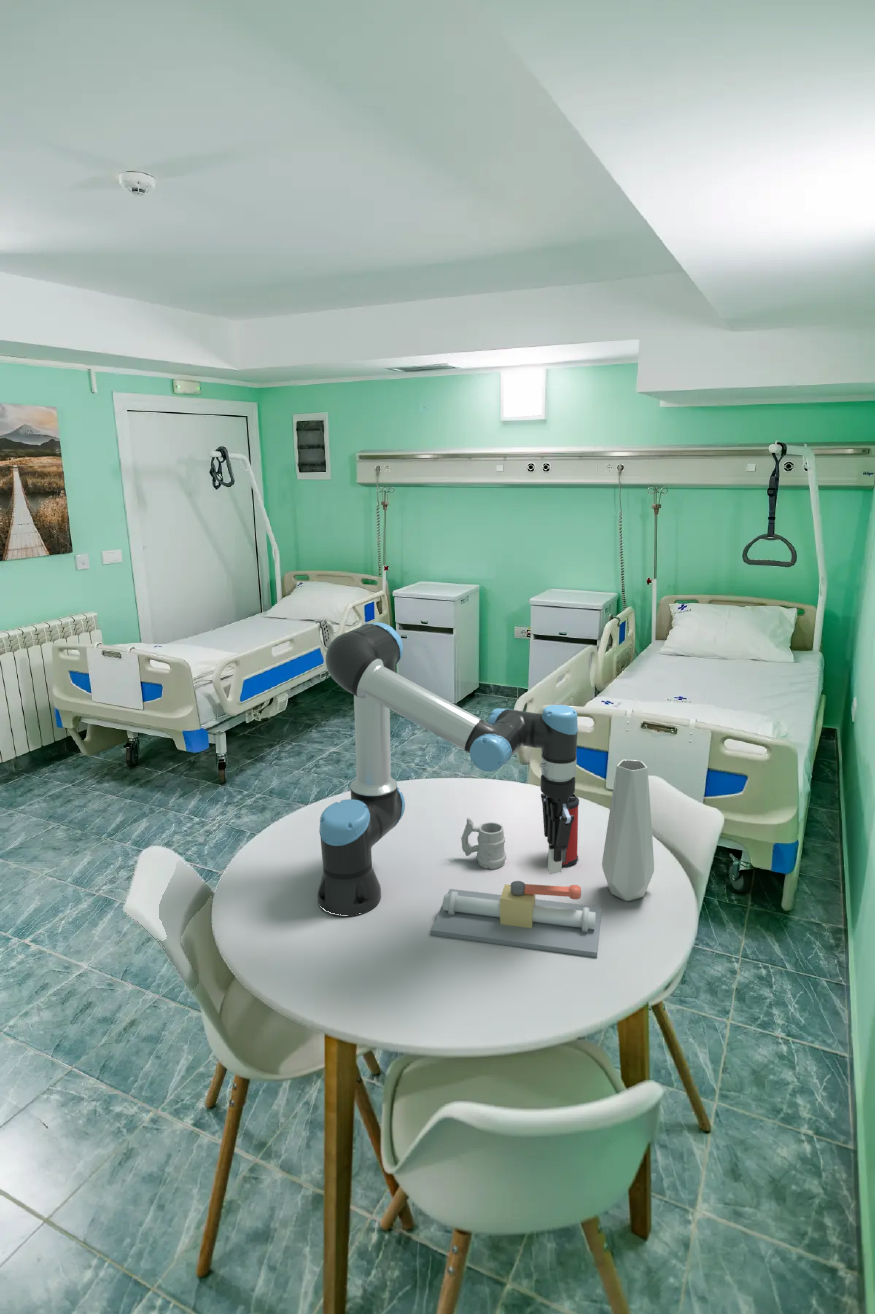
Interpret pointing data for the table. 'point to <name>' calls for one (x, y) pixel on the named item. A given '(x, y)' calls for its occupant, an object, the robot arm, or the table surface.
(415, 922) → the table surface
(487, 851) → the mug
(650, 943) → the table surface
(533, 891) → the lever
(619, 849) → the vase
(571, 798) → the speaker
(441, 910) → the grey base plate
